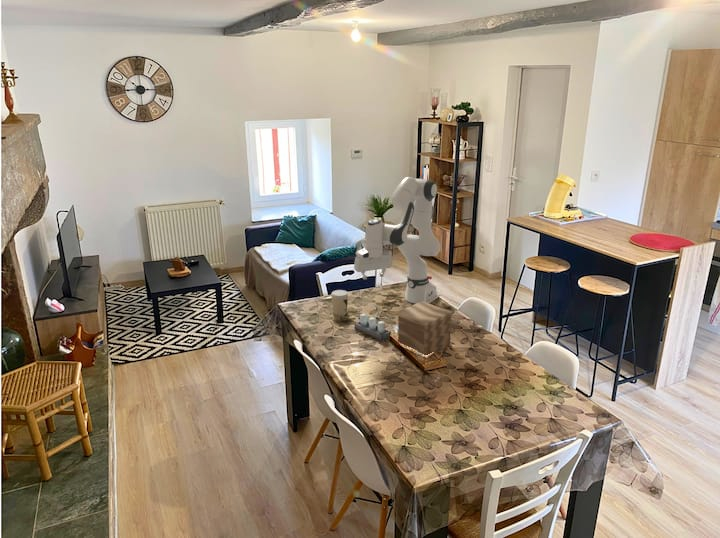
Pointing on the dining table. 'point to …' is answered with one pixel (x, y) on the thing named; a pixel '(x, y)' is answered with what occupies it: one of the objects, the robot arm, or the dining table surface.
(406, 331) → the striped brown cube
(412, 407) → the dining table surface
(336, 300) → the coffee cup
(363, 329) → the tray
